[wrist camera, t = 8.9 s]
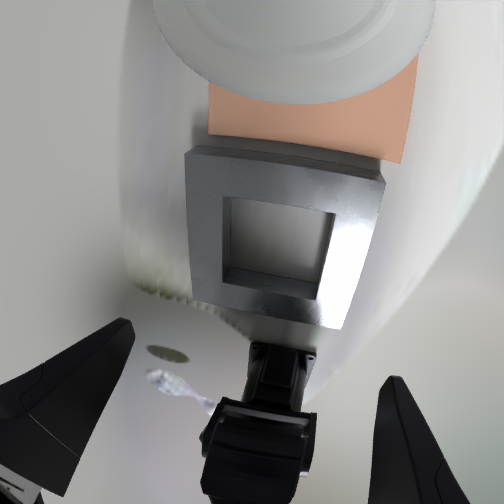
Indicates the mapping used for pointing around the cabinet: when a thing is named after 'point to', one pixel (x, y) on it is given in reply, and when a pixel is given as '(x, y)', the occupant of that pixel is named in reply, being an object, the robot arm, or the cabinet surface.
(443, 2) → the cabinet surface
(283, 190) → the collar stand
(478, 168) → the cabinet surface
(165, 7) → the sprinkles bottle
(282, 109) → the terracotta tile
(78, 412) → the robot arm
